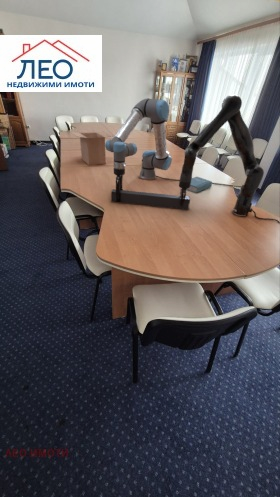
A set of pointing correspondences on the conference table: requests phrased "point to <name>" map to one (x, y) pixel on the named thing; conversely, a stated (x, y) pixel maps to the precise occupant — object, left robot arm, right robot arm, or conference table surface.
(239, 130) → the right robot arm
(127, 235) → the conference table surface
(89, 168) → the conference table surface
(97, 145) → the box
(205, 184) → the book
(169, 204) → the bar
